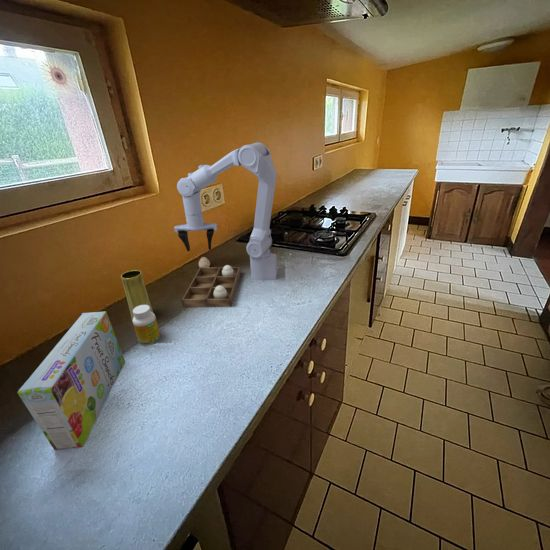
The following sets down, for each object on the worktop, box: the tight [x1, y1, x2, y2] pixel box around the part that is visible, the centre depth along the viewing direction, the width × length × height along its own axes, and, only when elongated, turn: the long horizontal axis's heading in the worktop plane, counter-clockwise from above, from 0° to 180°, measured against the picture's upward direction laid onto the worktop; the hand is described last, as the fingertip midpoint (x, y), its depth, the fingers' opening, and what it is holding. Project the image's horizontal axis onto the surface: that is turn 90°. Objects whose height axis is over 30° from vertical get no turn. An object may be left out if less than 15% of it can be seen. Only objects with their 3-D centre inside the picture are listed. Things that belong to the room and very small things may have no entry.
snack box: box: [17, 310, 126, 451], centre depth 59 cm, size 21×6×15 cm, turn 5°
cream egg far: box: [222, 264, 234, 276], centre depth 105 cm, size 4×4×5 cm
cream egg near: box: [213, 285, 227, 299], centre depth 93 cm, size 4×4×5 cm
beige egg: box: [198, 256, 211, 268], centre depth 114 cm, size 4×4×5 cm
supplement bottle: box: [132, 305, 161, 347], centre depth 77 cm, size 5×5×10 cm
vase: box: [120, 269, 154, 322], centre depth 85 cm, size 6×6×14 cm
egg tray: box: [181, 266, 242, 308], centre depth 100 cm, size 15×22×3 cm
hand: (199, 249), depth 110 cm, fingers open, 7 cm apart
